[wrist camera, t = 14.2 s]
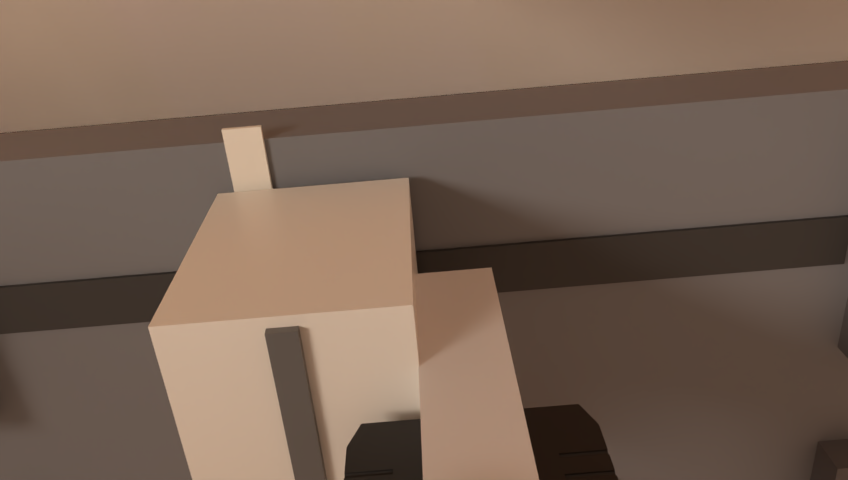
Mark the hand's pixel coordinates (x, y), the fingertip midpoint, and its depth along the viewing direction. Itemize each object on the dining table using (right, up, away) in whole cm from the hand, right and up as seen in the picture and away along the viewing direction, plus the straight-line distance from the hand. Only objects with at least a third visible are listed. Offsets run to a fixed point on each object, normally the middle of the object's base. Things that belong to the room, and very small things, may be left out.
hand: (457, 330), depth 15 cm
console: (-1, -2, +6) cm, 6 cm away
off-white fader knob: (-3, +1, +2) cm, 3 cm away
